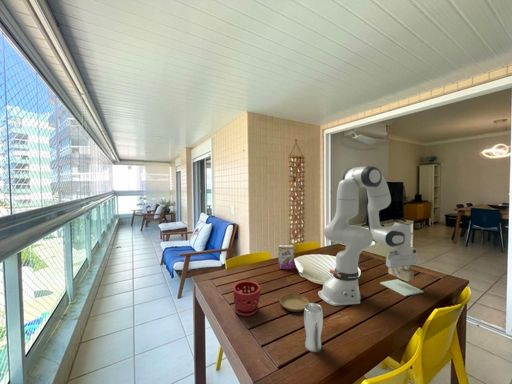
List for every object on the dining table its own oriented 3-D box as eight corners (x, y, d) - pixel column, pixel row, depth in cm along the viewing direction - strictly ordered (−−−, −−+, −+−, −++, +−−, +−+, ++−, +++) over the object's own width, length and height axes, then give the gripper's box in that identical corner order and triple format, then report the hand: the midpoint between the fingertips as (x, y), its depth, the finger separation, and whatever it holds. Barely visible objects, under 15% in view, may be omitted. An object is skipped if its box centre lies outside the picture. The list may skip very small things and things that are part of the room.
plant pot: (230, 318, 100) (230, 292, 99) (236, 302, 113) (236, 280, 112) (258, 320, 98) (258, 294, 97) (261, 304, 111) (261, 281, 110)
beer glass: (322, 355, 77) (322, 314, 77) (302, 350, 80) (302, 310, 79) (323, 342, 84) (323, 304, 83) (305, 337, 87) (305, 301, 86)
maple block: (387, 273, 132) (406, 281, 121) (388, 265, 132) (407, 272, 121) (394, 271, 134) (413, 280, 122) (394, 264, 134) (413, 271, 122)
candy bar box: (278, 269, 156) (278, 246, 155) (278, 266, 161) (278, 244, 160) (294, 269, 154) (294, 247, 154) (293, 267, 159) (293, 245, 159)
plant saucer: (309, 300, 115) (309, 295, 115) (308, 316, 100) (308, 311, 100) (281, 296, 119) (281, 291, 119) (277, 312, 104) (277, 306, 104)
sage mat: (404, 296, 117) (404, 295, 117) (379, 283, 133) (380, 282, 132) (423, 292, 121) (423, 291, 121) (397, 280, 137) (397, 279, 137)
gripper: (392, 253, 120) (392, 278, 121) (419, 249, 126) (419, 272, 127) (383, 250, 126) (382, 273, 127) (409, 246, 132) (408, 268, 133)
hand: (401, 273), depth 127 cm, fingers closed on maple block, 5 cm apart
